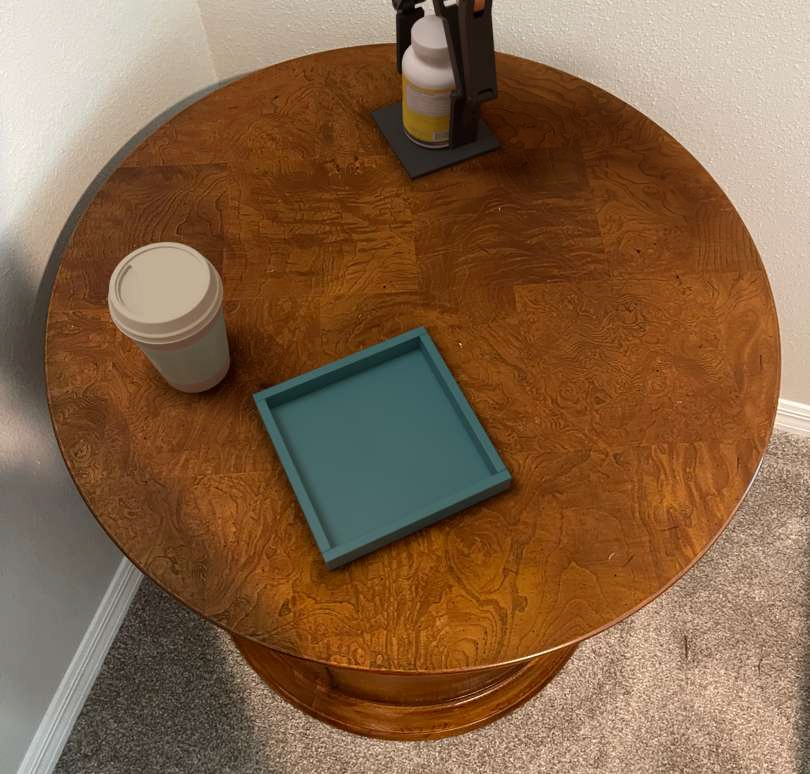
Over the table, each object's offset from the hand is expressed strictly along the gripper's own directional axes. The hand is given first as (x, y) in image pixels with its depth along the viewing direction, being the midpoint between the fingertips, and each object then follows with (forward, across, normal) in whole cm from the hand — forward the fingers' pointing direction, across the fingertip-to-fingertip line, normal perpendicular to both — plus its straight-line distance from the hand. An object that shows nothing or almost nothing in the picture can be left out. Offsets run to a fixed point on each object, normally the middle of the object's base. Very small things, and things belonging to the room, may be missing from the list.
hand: (435, 104), depth 82 cm
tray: (+3, +30, -20) cm, 36 cm away
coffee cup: (+4, +16, -31) cm, 35 cm away
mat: (+3, 0, 0) cm, 3 cm away
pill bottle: (+3, 0, 0) cm, 3 cm away
